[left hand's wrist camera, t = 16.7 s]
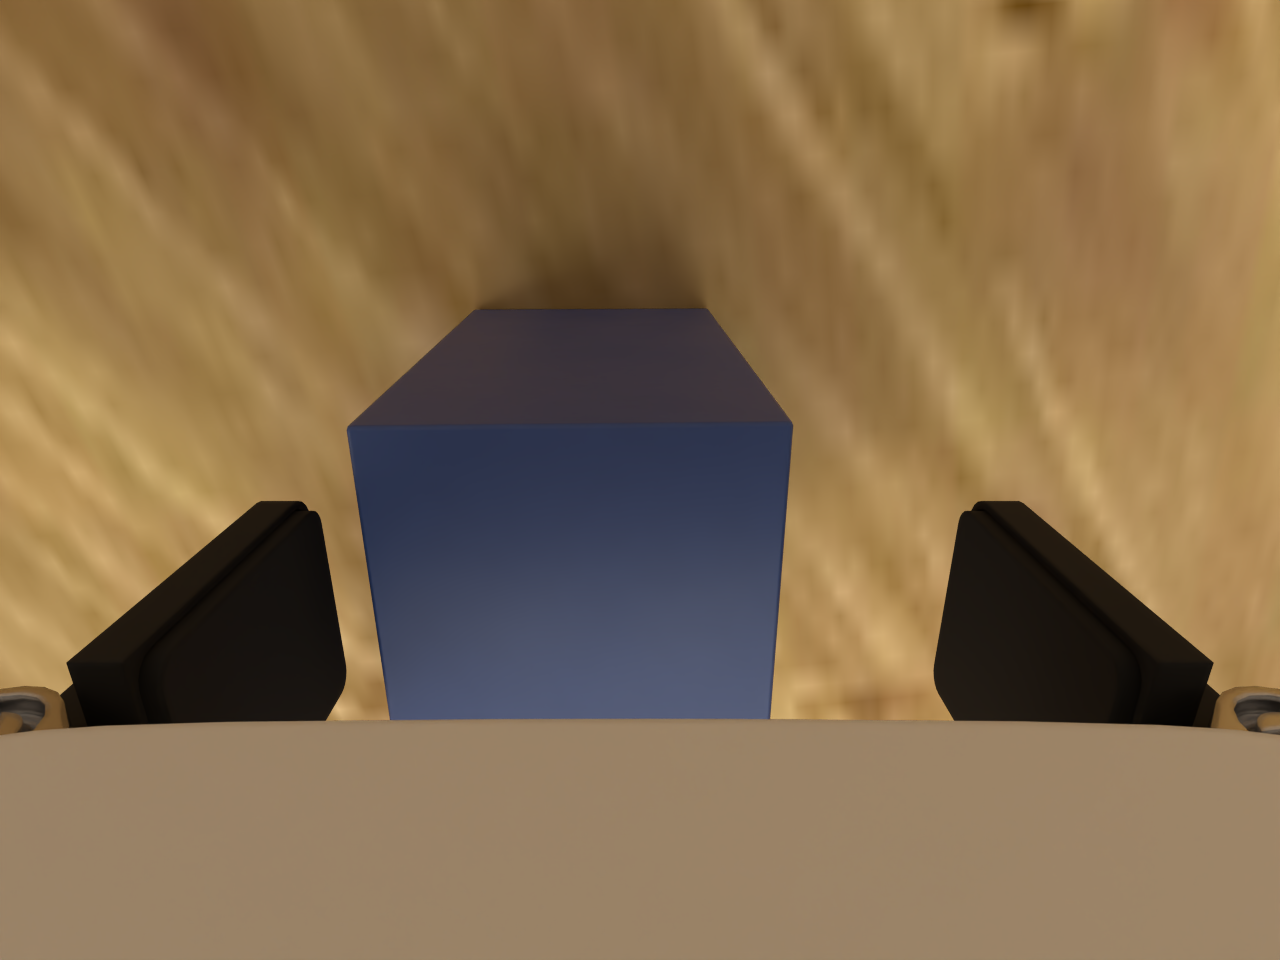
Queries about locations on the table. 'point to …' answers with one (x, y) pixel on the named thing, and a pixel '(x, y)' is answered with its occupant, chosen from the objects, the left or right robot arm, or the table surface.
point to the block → (576, 520)
